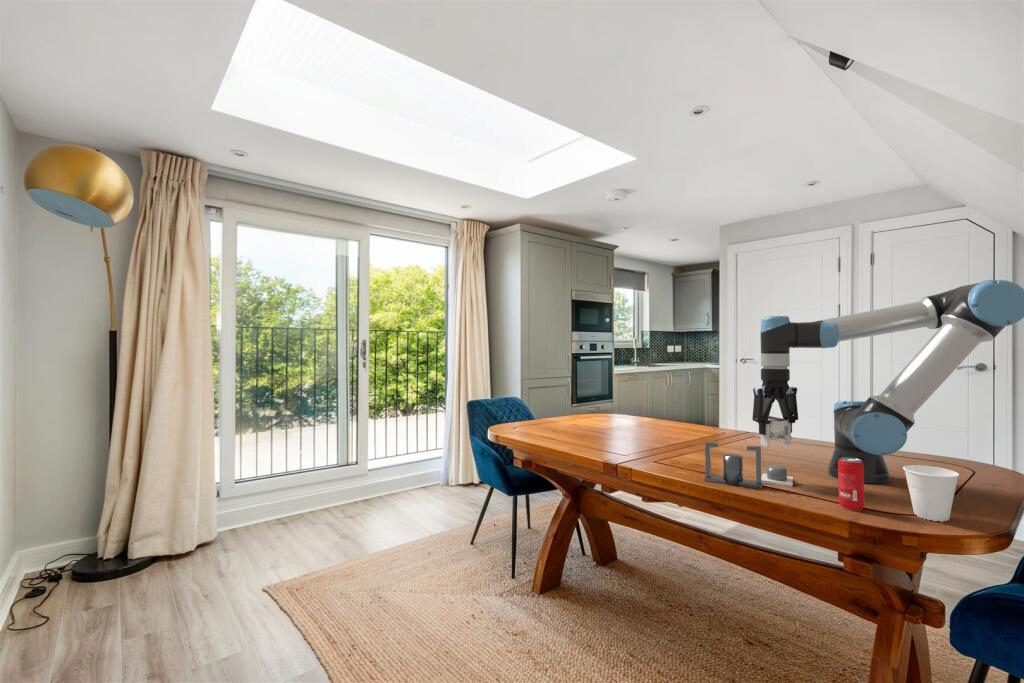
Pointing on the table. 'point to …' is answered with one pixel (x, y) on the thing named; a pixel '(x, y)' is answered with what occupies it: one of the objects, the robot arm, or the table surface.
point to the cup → (931, 491)
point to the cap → (779, 428)
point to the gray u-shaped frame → (733, 468)
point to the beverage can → (851, 483)
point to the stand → (777, 476)
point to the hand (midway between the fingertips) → (775, 444)
